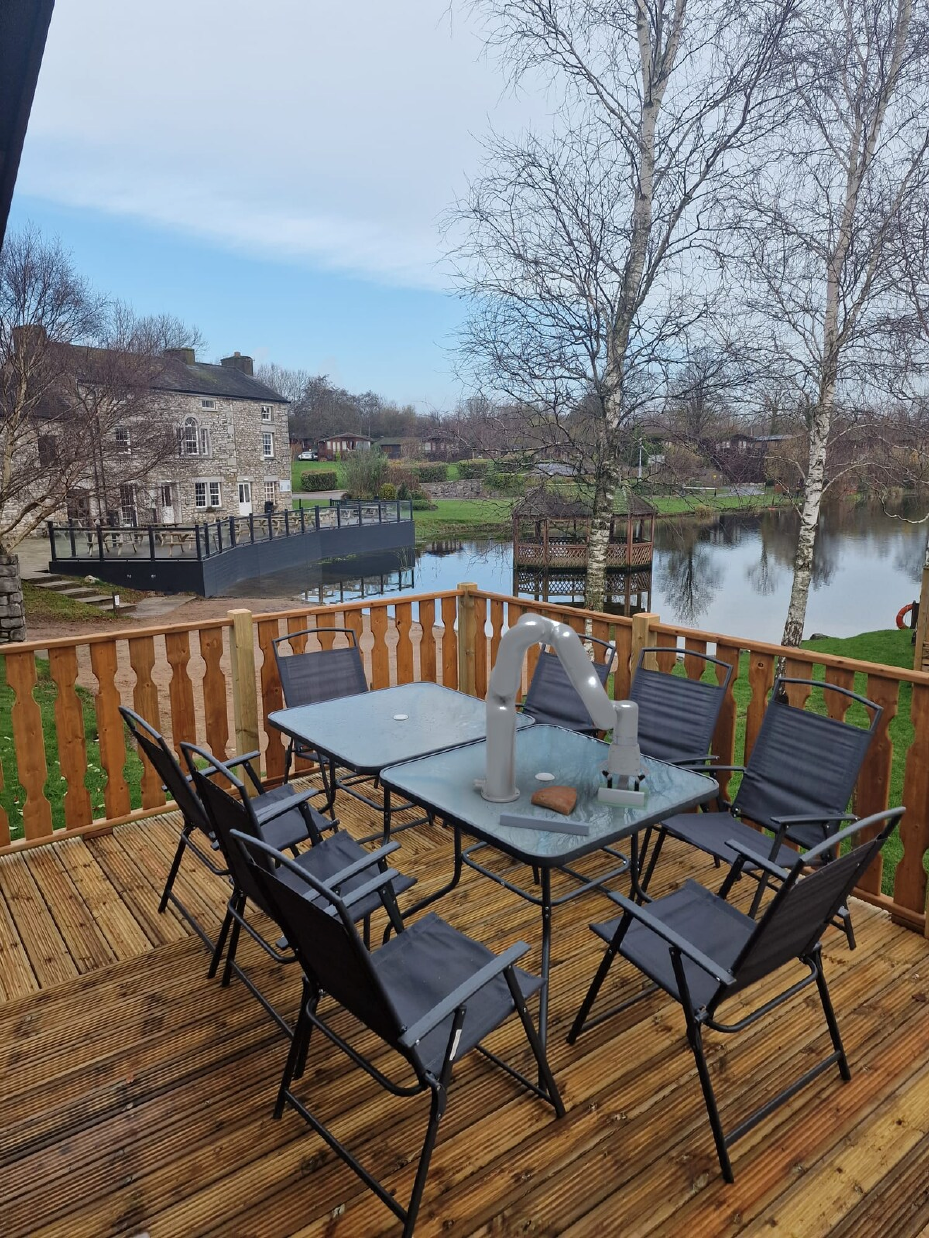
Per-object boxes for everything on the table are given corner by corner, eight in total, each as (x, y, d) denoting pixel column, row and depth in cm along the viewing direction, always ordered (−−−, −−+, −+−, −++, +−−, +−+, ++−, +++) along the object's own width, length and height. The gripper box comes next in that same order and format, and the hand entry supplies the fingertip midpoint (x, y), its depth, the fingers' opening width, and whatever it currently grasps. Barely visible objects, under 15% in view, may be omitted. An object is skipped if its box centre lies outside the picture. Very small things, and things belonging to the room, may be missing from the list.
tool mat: (594, 804, 238) (594, 803, 238) (600, 783, 255) (600, 782, 255) (646, 811, 233) (646, 810, 233) (649, 789, 250) (649, 788, 250)
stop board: (499, 824, 224) (500, 814, 224) (501, 821, 226) (501, 812, 225) (588, 835, 217) (588, 826, 216) (589, 832, 219) (589, 823, 218)
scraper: (598, 801, 240) (598, 786, 239) (602, 785, 253) (603, 770, 252) (643, 806, 236) (644, 791, 235) (645, 789, 249) (646, 775, 248)
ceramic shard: (595, 788, 238) (567, 809, 228) (594, 805, 241) (566, 826, 230) (558, 770, 248) (529, 789, 237) (557, 787, 250) (528, 807, 240)
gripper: (596, 740, 241) (594, 793, 244) (652, 745, 236) (649, 799, 239) (598, 733, 248) (597, 784, 251) (653, 738, 243) (651, 790, 246)
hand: (622, 791), depth 245 cm, fingers open, 7 cm apart
